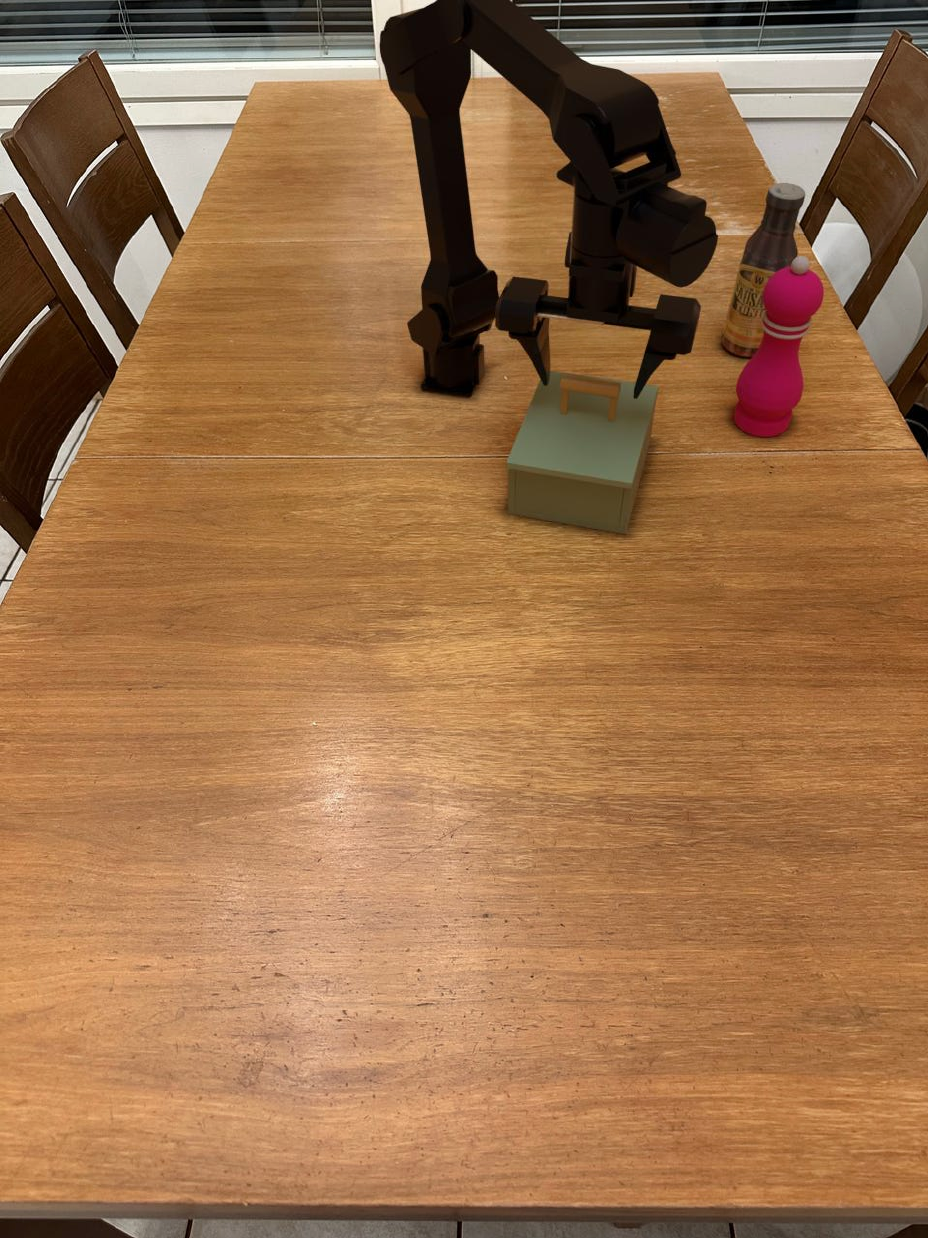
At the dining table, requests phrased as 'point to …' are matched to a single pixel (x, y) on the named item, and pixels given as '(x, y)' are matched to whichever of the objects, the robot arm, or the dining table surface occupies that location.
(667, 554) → the dining table surface
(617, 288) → the robot arm
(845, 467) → the dining table surface
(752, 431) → the pepper mill
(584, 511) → the green box
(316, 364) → the dining table surface
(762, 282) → the sauce bottle
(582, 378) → the lid
